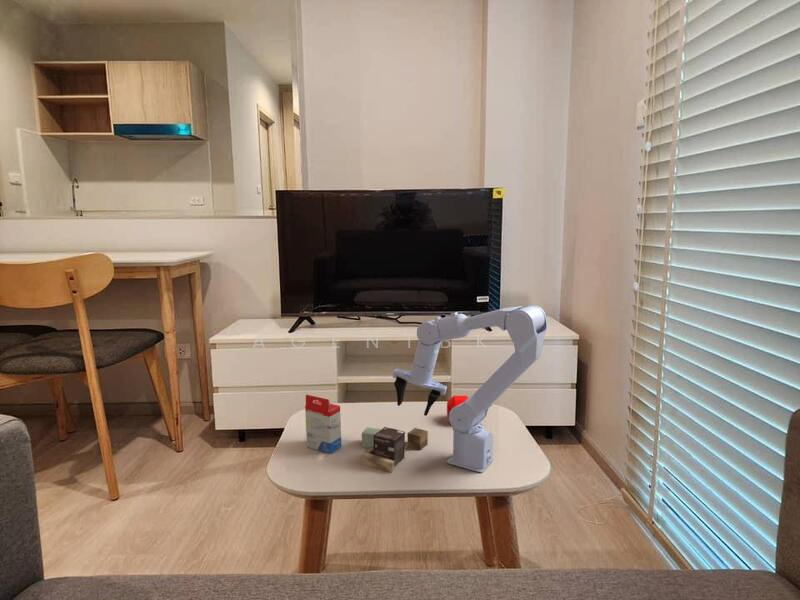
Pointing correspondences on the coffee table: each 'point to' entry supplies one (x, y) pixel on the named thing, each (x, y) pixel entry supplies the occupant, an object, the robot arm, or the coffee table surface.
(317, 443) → the ink box
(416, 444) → the walnut cube
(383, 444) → the box
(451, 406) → the red faceted polyhedron
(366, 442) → the block
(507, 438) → the coffee table surface
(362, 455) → the corner jig
